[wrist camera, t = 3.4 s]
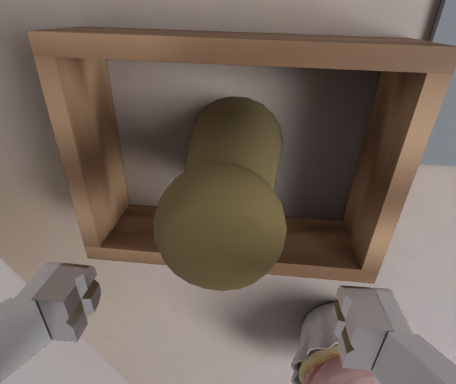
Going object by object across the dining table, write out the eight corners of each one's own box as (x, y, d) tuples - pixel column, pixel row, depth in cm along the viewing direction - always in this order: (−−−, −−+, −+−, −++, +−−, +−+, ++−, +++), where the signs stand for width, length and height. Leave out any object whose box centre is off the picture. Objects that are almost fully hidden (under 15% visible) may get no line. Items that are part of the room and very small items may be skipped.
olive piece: (176, 155, 21) (106, 270, 12) (219, 76, 18) (174, 144, 9) (250, 197, 22) (241, 334, 13) (302, 129, 19) (341, 240, 10)
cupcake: (297, 359, 31) (310, 490, 23) (275, 297, 27) (281, 429, 19) (395, 349, 29) (451, 490, 21) (388, 280, 25) (454, 421, 16)
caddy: (84, 26, 18) (26, 31, 13) (409, 38, 16) (463, 47, 12) (118, 214, 24) (87, 258, 20) (353, 232, 23) (374, 283, 19)
